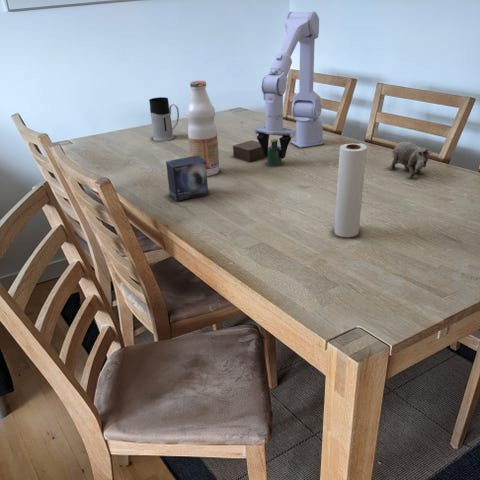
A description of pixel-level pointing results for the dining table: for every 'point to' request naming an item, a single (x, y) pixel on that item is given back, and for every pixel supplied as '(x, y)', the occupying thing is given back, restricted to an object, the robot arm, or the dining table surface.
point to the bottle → (274, 154)
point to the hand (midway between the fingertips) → (274, 156)
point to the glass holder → (162, 118)
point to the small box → (187, 177)
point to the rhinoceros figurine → (410, 157)
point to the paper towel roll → (350, 189)
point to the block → (248, 151)
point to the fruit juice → (202, 127)
